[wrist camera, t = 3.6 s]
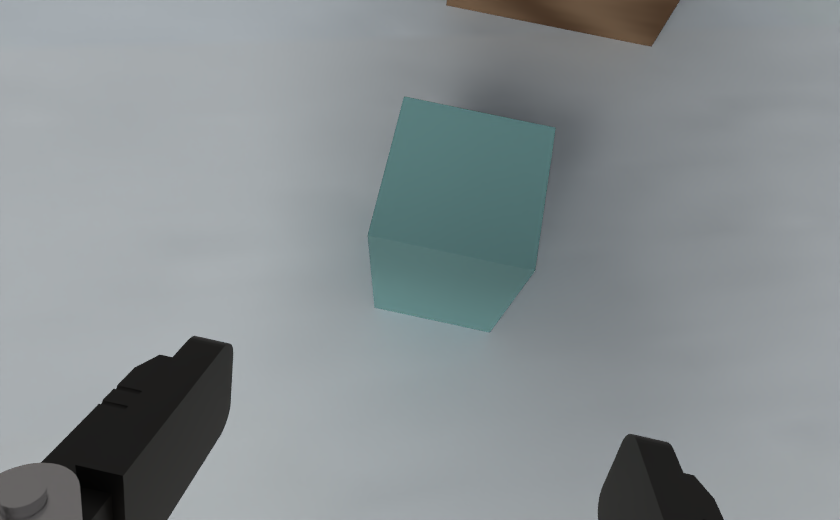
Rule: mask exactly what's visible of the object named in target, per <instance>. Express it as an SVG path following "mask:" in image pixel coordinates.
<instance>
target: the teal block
mask: <svg viewBox="0 0 840 520" xmlns="http://www.w3.org/2000/svg"><path fill="white" fill-rule="evenodd" d="M555 129H556V128H555V127H550V126H545V125H540V124H535V123H530V122H525V121H521V120H516V119H511V118H506V117H501V116H496V115H492V114H487V113H482V112H477V111H472V110H467V109H462V108H458V107H453V106H448V105H443V104H438V103H433V102H428V101H424V100H419V99H414V98H409V97H404V99H403V103H402V106H401V110H400V114H399V118H398V122H397V125H396V129H395V133H394V137H393V141H392V144H391V148H390V152H389V156H388V160H387V164H386V167H385V171H384V175H383V179H382V183H381V186H380V190H379V194H378V198H377V202H376V205H375V209H374V213H373V217H372V221H371V225H370V228H369V232H368V243H369V254H370V264H371V275H372V286H373V296H374V307H375V308H379V309H384V310H388V311H393V312H398V313H402V314H407V315H412V316H416V317H421V318H425V319H430V320H435V321H439V322H444V323H449V324H453V325H458V326H462V327H467V328H472V329H476V330H481V331H486V332H490V331H491V330H492V329H493V327H494V326H495V324H496V323H497V322H498V320H499V319H500V318H501V316H502V315H503V314H504V312H505V311H506V310H507V308H508V307H509V305H510V304H511V303H512V301H513V300H514V299H515V297H516V296H517V295H518V293H519V292H520V290H521V289H522V288H523V286H524V285H525V284H526V282H527V281H528V280H529V278H530V277H531V276H532V274H533V273H534V271H535V267H536V260H537V253H538V247H539V240H540V233H541V226H542V219H543V212H544V205H545V198H546V191H547V184H548V177H549V171H550V164H551V157H552V150H553V143H554V136H555Z"/></svg>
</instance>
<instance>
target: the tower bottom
mask: <svg viewBox="0 0 840 520" xmlns="http://www.w3.org/2000/svg"><path fill="white" fill-rule="evenodd" d="M679 1H680V0H447V4H446V5H448V6H453V7H458V8H463V9H468V10H472V11H477V12H482V13H487V14H492V15H497V16H502V17H507V18H512V19H517V20H522V21H527V22H532V23H537V24H542V25H547V26H552V27H557V28H562V29H567V30H572V31H577V32H582V33H587V34H592V35H597V36H602V37H606V38H611V39H616V40H621V41H626V42H631V43H636V44H641V45H646V46H652V44H653V43H654V41H655V40H656V38H657V36H658V35H659V33H660V32H661V30H662V28H663V27H664V25H665V23H666V22H667V20H668V19H669V17H670V15H671V14H672V12H673V11H674V9H675V7H676V6H677V4H678V3H679Z"/></svg>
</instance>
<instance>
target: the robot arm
mask: <svg viewBox="0 0 840 520" xmlns="http://www.w3.org/2000/svg"><path fill="white" fill-rule="evenodd" d="M232 366H233V347H232V345H231V344H229V343H224V342H220V341H215V340H211V339H206V338H202V337H197V336H193V337H191V338H190V339H189V340H188V341H187V342H186V343H185V344H184V345H183V346H182V348H181V349H180V350H179V351H178V352H177V353H176V354H175V355H174V356H173V357H168V356H164V355H158V356H156V357H155V358H153V359H151V360H149V361H147V362H145V363H143V364H141V365H139V366H137V367H135V368H134V369H133V370H132V371H131V372H130V373H129V374H128V375H127V376H126V377H125V378H124V379H123V380H122V381H121V382H120V383H119V384H118V385H117V388H116V389H113V390H112V391H111V392H110V393H109V394H108V395H107V396H106V397H105V398H104V399H103V402H102V404H98V405H97V406H96V407H95V408H94V409H93V411H92V412H91V413H90V414H89V415H88V416H87V417H86V418H85V419H84V420H83V421H82V422H81V423H80V424H79V425H78V426H77V427H76V428H75V429H74V430H73V431H72V432H71V433H70V434H69V435H68V436H67V437H66V438H65V439H64V440H63V441H62V442H61V443H60V444H59V445H58V446H57V447H56V448H55V449H54V450H53V451H52V452H51V453H50V454H49V455H48V456H47V457H46V458H45V459H44V460H43V461H42V462H41V463H33V464H27V465H22V466H19V467H15V468H12V469H9V470H7V471H4V472H2V473H0V520H167V519H168V518H169V516H170V515H171V513H172V511H173V510H174V508H175V507H176V505H177V503H178V502H179V500H180V499H181V497H182V495H183V494H184V492H185V491H186V489H187V488H188V486H189V484H190V483H191V481H192V480H193V478H194V476H195V475H196V473H197V472H198V470H199V468H200V467H201V465H202V464H203V462H204V461H205V459H206V457H207V456H208V454H209V453H210V451H211V449H212V448H213V446H214V445H215V443H216V441H217V440H218V438H219V437H220V435H221V433H222V431H223V429H224V427H225V424H226V421H227V418H228V414H229V410H230V403H231V385H232ZM598 520H724V519H723V517H722V515H721V512H720V510H719V508H718V506H717V504H716V502H715V499H714V498H713V497H712V496H711V495H710V493H709V492H708V491H707V490H706V489H705V488H704V487H703V485H702V484H701V483H700V482H699V481H698V480H697V478H696V477H695V476H694V475H690V474H686V473H683V471H682V469H681V466H680V464H679V461H678V459H677V457H676V454H675V452H674V450H673V448H672V446H671V445H670V444H669V443H668V442H664V441H660V440H655V439H651V438H646V437H642V436H637V435H633V434H628V435H627V436H626V437H625V438H624V440H623V442H622V444H621V446H620V448H619V450H618V453H617V455H616V457H615V460H614V462H613V464H612V466H611V469H610V471H609V473H608V476H607V478H606V480H605V482H604V485H603V487H602V490H601V493H600V497H599V503H598Z"/></svg>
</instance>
